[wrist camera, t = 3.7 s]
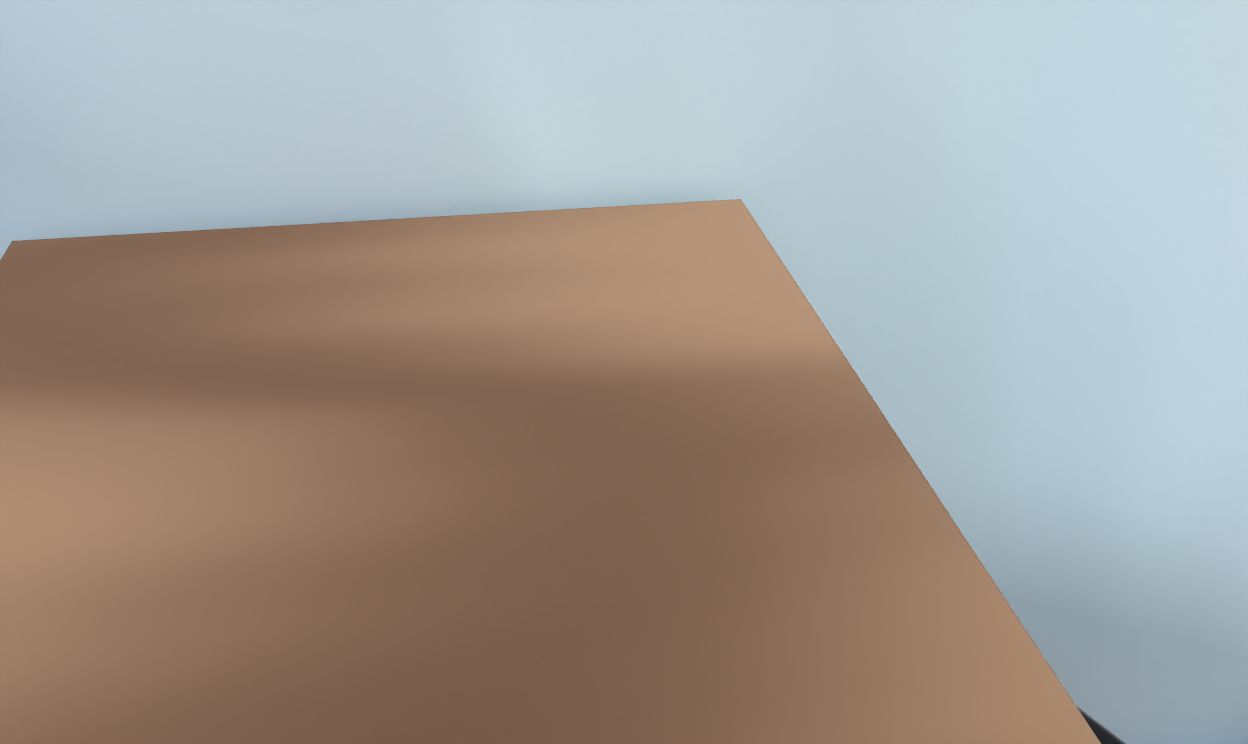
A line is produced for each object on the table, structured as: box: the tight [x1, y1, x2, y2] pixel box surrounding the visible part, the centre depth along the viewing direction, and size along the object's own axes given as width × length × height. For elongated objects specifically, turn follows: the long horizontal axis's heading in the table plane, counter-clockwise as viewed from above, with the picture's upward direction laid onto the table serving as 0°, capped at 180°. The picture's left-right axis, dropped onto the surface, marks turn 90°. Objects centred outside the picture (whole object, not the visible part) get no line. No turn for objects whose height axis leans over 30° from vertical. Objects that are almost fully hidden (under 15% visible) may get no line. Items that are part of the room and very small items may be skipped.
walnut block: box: [0, 199, 1101, 744], centre depth 7 cm, size 5×5×5 cm
